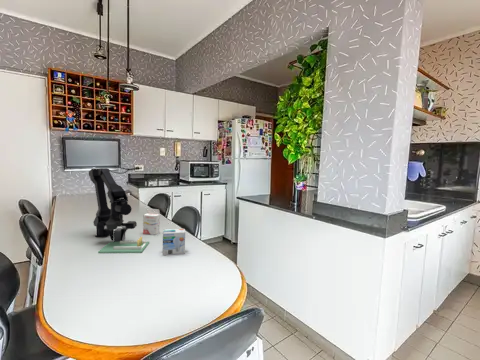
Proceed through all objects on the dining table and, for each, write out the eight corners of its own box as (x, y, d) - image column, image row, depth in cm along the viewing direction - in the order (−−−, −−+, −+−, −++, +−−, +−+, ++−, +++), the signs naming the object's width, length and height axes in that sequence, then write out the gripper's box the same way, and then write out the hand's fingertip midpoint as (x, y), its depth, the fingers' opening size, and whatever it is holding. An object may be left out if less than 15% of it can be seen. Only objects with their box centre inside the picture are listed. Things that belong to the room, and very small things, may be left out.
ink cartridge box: (142, 234, 148) (142, 210, 147) (146, 231, 153) (146, 208, 152) (156, 235, 148) (156, 210, 146) (160, 232, 153) (160, 209, 151)
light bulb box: (162, 255, 118) (162, 233, 117) (162, 250, 124) (162, 229, 124) (185, 253, 121) (185, 232, 120) (184, 248, 127) (184, 228, 126)
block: (113, 231, 133) (117, 228, 139) (113, 242, 134) (117, 238, 139) (121, 231, 134) (125, 228, 139) (121, 241, 134) (125, 238, 140)
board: (98, 253, 118) (98, 243, 118) (110, 243, 132) (110, 234, 131) (141, 252, 120) (141, 243, 120) (149, 242, 134) (149, 234, 134)
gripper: (90, 215, 123) (91, 245, 124) (130, 215, 125) (130, 245, 126) (100, 210, 134) (101, 238, 135) (136, 210, 136) (136, 238, 137)
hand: (117, 240), depth 133 cm, fingers open, 4 cm apart
